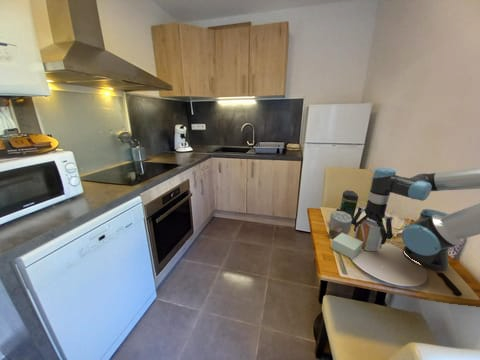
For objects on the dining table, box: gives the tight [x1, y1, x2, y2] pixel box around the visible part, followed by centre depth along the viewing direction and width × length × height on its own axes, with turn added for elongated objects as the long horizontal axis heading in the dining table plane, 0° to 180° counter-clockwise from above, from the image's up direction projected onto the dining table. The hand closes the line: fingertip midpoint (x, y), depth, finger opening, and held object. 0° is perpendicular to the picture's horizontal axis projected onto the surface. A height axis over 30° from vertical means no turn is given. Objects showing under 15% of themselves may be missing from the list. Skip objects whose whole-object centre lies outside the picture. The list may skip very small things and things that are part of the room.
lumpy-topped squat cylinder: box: [329, 210, 352, 235], centre depth 113 cm, size 10×13×9 cm
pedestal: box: [330, 233, 363, 260], centre depth 95 cm, size 10×10×5 cm
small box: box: [356, 218, 385, 252], centre depth 96 cm, size 8×6×13 cm
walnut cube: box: [327, 225, 342, 240], centre depth 105 cm, size 5×5×5 cm
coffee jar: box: [339, 189, 359, 220], centre depth 120 cm, size 10×8×19 cm
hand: (367, 242), depth 98 cm, fingers closed on small box, 10 cm apart
